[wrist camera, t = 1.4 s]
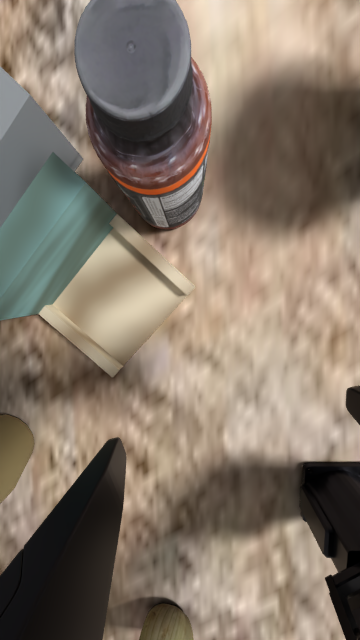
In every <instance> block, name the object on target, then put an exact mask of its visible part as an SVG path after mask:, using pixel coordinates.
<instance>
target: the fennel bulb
mask: <svg viewBox="0 0 360 640" xmlns="http://www.w3.org/2000/svg"><path fill="white" fill-rule="evenodd" d="M139 640H194V639H193V632H192V627H191V624H190V621H189V619H188V617H187V616H186V615H185V614H184V613H183V612H182V610H181V609H179V608H177V607H176V606H174V605H170V604H166V603H165V604H158V605H155V607H153V608H152V609H151V610H150V611H149V613H148V615H147V617H146V620H145V622H144V625H143V628H142V631H141V635H140V638H139Z"/></svg>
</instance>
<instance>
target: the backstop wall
mask: <svg viewBox="0 0 360 640" xmlns="http://www.w3.org/2000/svg"><path fill="white" fill-rule="evenodd" d="M52 152H54V153H55V154H56V155H57V156H58V157H59V158H60V159H61V160H62V161H63V162H64V163H65V164H67V165H68V166H69V167H70V168H71V169H72V170H73V171H75V170H76V168H77V167H78V166H79V164H80V163H81V161H82V160H83V158H82V157H81V155H80V154H79V153H78V152H77V151H76V149H75V148H74V147H73V146H72V145H71V143H70V142H69V141H68V140H67V139H66V137H65V136H64V135H63V134H62V133H61V131H60V130H59V129H58V128H57V127H56V125H55V124H54V123H53V122H52V121H51V119H50V118H49V117H48V116H47V115H46V113H45V112H44V111H43V110H42V109H41V107H40V106H39V105H38V104H37V103H36V101H35V100H34V99H33V98H32V97H31V95H30V94H29V93H28V92H27V91H25V90H24V89H23V88H22V87H21V86H20V85H19V84H18V83H17V82H16V81H15V80H14V79H13V78H12V77H11V76H10V75H9V74H7V73H6V72H5V71H4V70H3V69H2V68H1V67H0V227H1V226H2V225H3V223H4V222H5V220H6V219H7V217H8V216H9V214H10V213H11V212H12V210H13V209H14V207H15V206H16V204H17V203H18V201H19V200H20V199H21V197H22V196H23V194H24V193H25V191H26V190H27V188H28V187H29V185H30V184H31V183H32V181H33V180H34V178H35V177H36V175H37V174H38V172H39V171H40V170H41V168H42V167H43V165H44V164H45V162H46V161H47V159H48V158H49V157H50V155H51V154H52Z"/></svg>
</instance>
